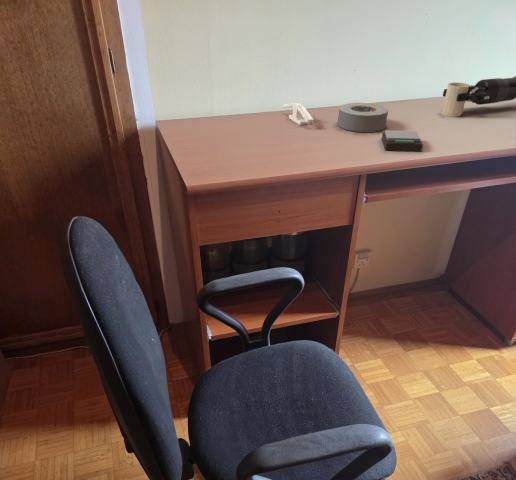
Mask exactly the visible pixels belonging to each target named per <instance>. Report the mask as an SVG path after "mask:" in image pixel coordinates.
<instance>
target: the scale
mask: <svg viewBox="0 0 516 480" xmlns="http://www.w3.org/2000/svg"><path fill="white" fill-rule="evenodd" d="M381 142H382V145H383V149H384V151H385V152H413V153H417V152H418V153H419V152H420V153H421V152H423V151H422V150H423V147H424V144H423V142H422V139H421V137H420V135H419V134H418V132H417V130H386V129H384V132H382V135H381Z"/></svg>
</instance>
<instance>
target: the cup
mask: <svg viewBox="0 0 516 480" xmlns="http://www.w3.org/2000/svg"><path fill="white" fill-rule="evenodd" d="M470 85H471V84H469V83H467V82H466V83H464V82H449V83H448V85H447V88H446V89H447V92H446V96H445V97H444V100H443V104H442V107H441V108H442V109H441V115H443V116H445V117H450V118H458V117H461V116H462V115H463V112H464V108H465V104H466V101H461V102H458V101H456V100H457V96H458V94H462V93H468V90H469V86H470Z"/></svg>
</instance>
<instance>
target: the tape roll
mask: <svg viewBox="0 0 516 480" xmlns="http://www.w3.org/2000/svg"><path fill="white" fill-rule="evenodd" d="M388 113H389V109H388V108H387V107H385V106H383V105H380V104H375V103H371V102H370V103H369V102H350V103H345V104H341V105H340V106H339V107H338V116H337V126H338V127H339V128H341V129H342V130H346V131H349V132H356V133H376V132H380V131H383V130H385V129H386V125H387V124H386V123H387V120H388V115H389V114H388Z"/></svg>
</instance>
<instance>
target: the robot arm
mask: <svg viewBox="0 0 516 480" xmlns="http://www.w3.org/2000/svg"><path fill="white" fill-rule="evenodd" d="M469 85H470V86H469V90H468V93H462V94H458V96H457V100H456V101H458V102H461V101H465V102H468V103H469V102H470V103H473V104H475V105H478V106H479V105H489V104H490V105H491V104H497V103H500V102H509V101H513V100H515V99H516V75H515V76H513V77H505V78H501V77H497V78H485V79H480V80H478V81H477V82H476V83H475V84H474V85H473V84H472V85H471V84H469ZM446 92H447V88H444V89H443V93H442V97H444V98H445V96H446Z"/></svg>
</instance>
